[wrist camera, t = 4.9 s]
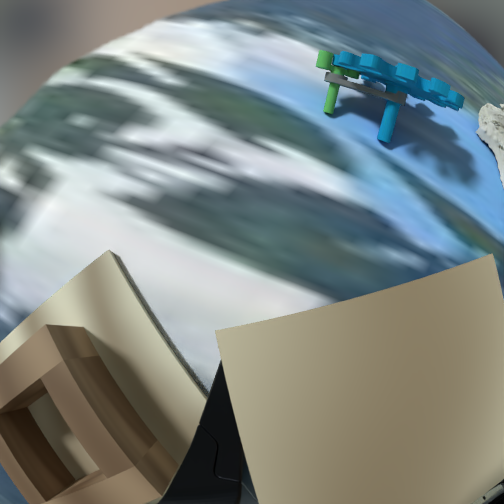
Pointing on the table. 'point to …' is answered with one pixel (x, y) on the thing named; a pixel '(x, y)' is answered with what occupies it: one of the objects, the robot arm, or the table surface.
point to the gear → (395, 79)
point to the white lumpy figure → (493, 132)
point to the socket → (94, 397)
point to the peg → (376, 394)
